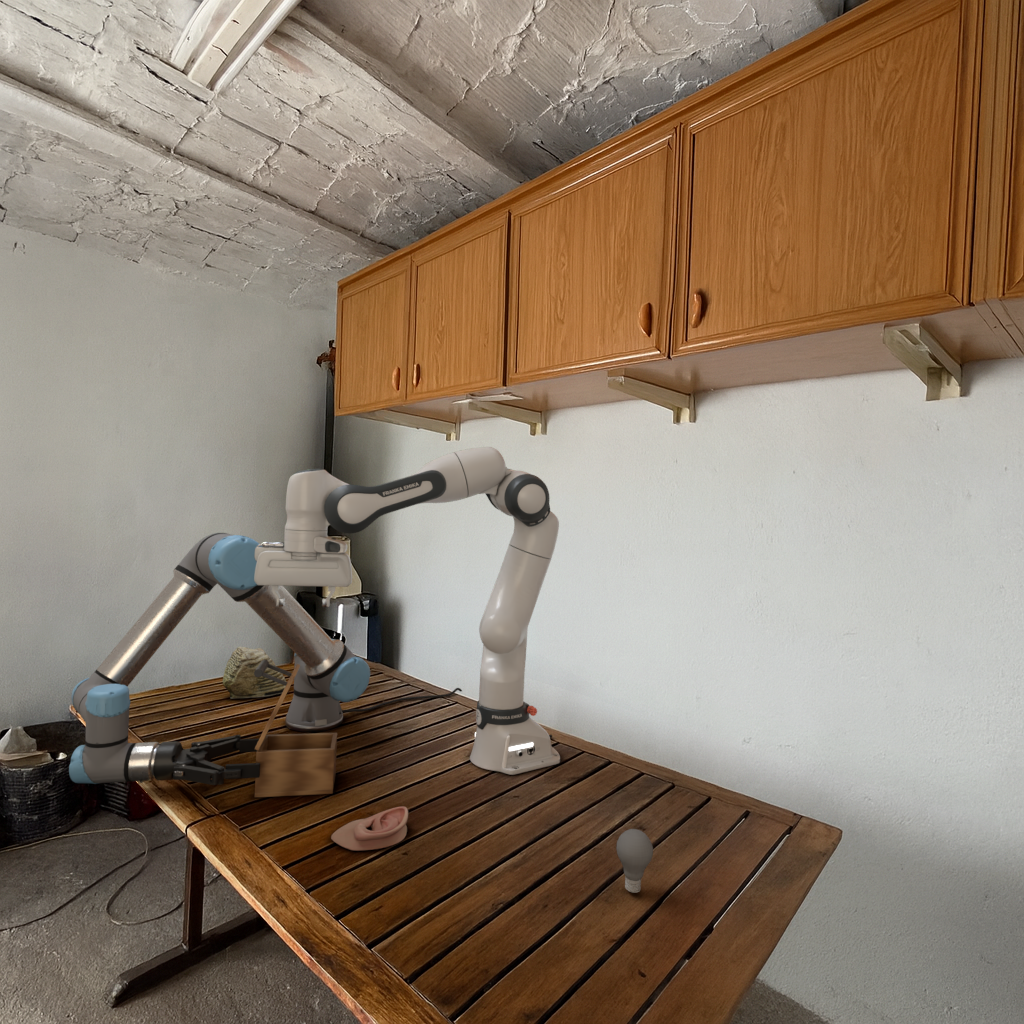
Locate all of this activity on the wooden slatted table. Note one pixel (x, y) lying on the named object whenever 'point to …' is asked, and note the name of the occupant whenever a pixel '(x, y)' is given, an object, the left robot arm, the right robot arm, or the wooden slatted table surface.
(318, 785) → the chest
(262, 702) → the wooden slatted table surface
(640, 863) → the light bulb
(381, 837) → the anatomical model
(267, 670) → the fossil
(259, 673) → the lid
